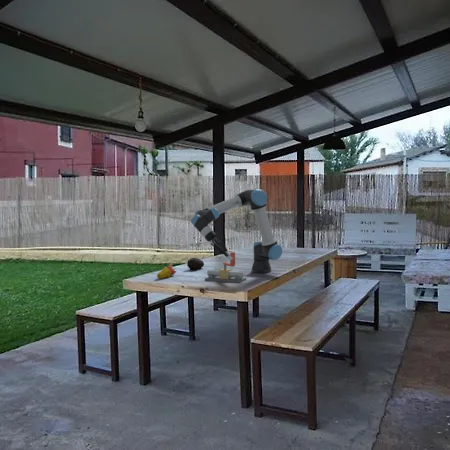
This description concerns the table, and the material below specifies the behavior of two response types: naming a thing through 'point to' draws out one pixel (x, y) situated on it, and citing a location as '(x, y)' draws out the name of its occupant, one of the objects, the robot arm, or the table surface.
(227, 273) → the valve base
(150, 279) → the table surface
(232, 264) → the lever
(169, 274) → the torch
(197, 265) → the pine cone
